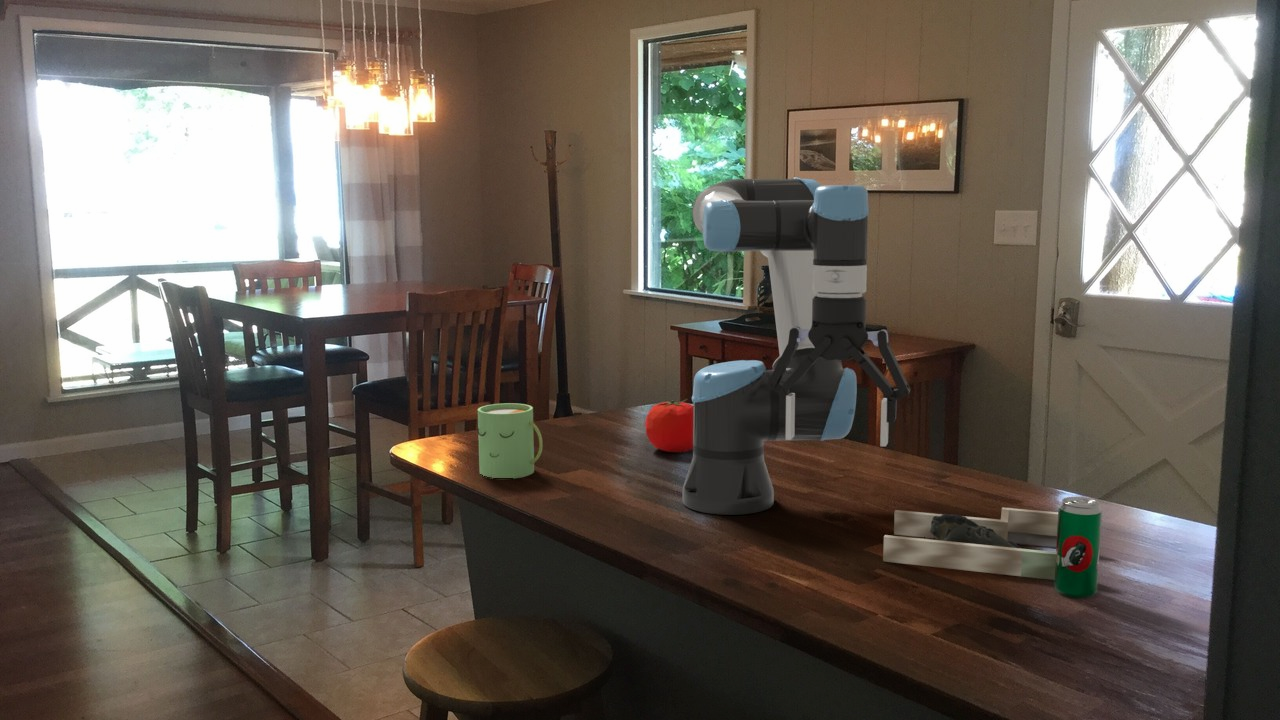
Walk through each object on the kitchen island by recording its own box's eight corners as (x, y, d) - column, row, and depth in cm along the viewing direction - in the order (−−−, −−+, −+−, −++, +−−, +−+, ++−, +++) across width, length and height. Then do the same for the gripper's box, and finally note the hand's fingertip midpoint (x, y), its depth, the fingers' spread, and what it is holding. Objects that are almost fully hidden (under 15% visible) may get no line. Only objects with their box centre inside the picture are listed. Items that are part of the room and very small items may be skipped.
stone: (1016, 573, 142) (1019, 535, 141) (921, 552, 149) (923, 516, 148) (1031, 559, 147) (1033, 522, 146) (939, 540, 155) (940, 505, 154)
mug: (468, 476, 192) (466, 412, 190) (496, 463, 202) (495, 401, 200) (529, 482, 187) (527, 417, 186) (555, 469, 197) (554, 406, 195)
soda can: (1105, 598, 132) (1111, 505, 130) (1069, 601, 131) (1074, 508, 129) (1080, 583, 137) (1085, 494, 135) (1045, 587, 136) (1050, 497, 134)
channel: (883, 561, 146) (883, 537, 145) (899, 520, 164) (900, 498, 164) (1094, 584, 136) (1096, 558, 136) (1086, 537, 155) (1087, 515, 154)
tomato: (713, 448, 212) (714, 398, 211) (685, 460, 203) (685, 408, 201) (663, 441, 219) (663, 393, 217) (633, 452, 209) (633, 402, 208)
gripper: (747, 295, 150) (746, 440, 153) (927, 299, 141) (922, 453, 144) (759, 291, 157) (758, 430, 160) (932, 294, 148) (927, 441, 151)
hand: (836, 441), depth 152 cm, fingers open, 13 cm apart
